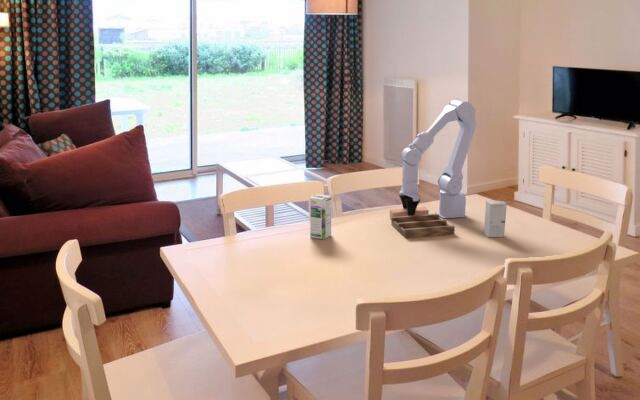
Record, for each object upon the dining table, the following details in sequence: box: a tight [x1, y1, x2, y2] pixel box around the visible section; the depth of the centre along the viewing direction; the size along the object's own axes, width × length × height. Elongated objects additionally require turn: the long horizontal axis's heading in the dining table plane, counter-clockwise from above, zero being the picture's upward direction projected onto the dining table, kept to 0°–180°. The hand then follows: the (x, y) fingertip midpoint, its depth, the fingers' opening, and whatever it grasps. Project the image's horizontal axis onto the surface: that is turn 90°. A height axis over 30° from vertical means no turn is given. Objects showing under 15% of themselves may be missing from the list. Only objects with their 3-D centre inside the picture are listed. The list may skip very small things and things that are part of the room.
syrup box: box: [309, 193, 332, 241], centre depth 227 cm, size 6×6×14 cm
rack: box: [390, 213, 455, 239], centre depth 235 cm, size 18×16×3 cm
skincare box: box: [483, 200, 508, 238], centre depth 227 cm, size 6×4×12 cm
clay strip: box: [389, 206, 430, 220], centre depth 248 cm, size 14×4×4 cm, turn 102°
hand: (409, 214), depth 248 cm, fingers closed on clay strip, 4 cm apart
